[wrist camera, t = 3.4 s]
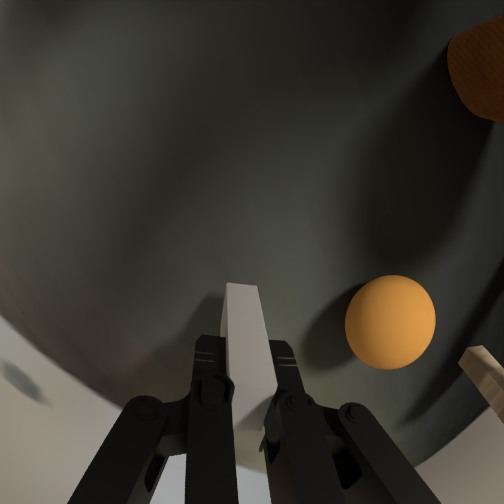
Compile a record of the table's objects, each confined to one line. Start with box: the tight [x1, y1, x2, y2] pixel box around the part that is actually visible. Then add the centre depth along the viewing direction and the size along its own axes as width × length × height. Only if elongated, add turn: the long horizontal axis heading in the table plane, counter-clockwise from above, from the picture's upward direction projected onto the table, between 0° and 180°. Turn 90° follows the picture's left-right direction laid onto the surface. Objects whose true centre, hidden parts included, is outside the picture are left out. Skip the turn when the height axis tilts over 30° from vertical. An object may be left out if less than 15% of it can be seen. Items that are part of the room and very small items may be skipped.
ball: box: [345, 275, 435, 369], centre depth 15 cm, size 6×6×6 cm
